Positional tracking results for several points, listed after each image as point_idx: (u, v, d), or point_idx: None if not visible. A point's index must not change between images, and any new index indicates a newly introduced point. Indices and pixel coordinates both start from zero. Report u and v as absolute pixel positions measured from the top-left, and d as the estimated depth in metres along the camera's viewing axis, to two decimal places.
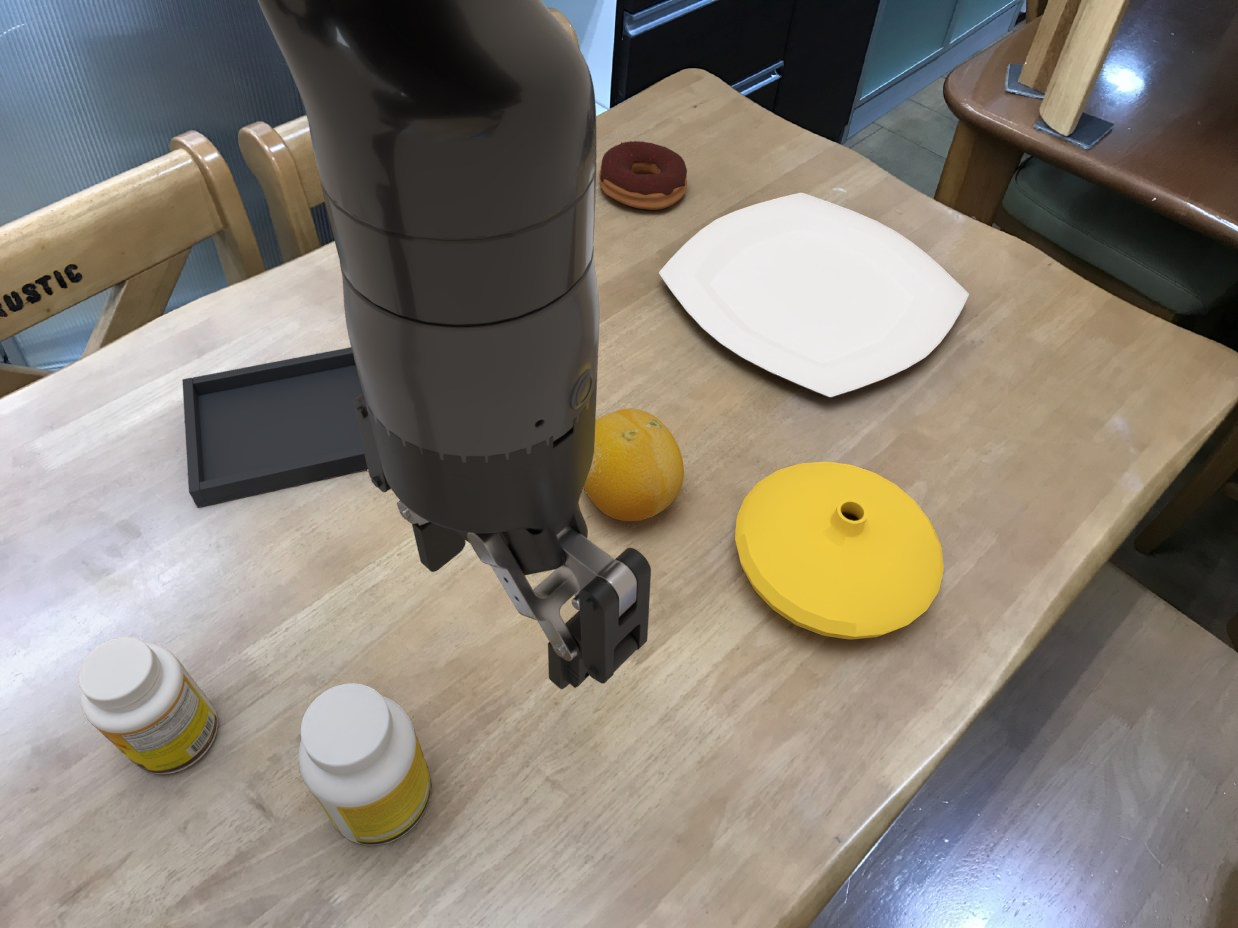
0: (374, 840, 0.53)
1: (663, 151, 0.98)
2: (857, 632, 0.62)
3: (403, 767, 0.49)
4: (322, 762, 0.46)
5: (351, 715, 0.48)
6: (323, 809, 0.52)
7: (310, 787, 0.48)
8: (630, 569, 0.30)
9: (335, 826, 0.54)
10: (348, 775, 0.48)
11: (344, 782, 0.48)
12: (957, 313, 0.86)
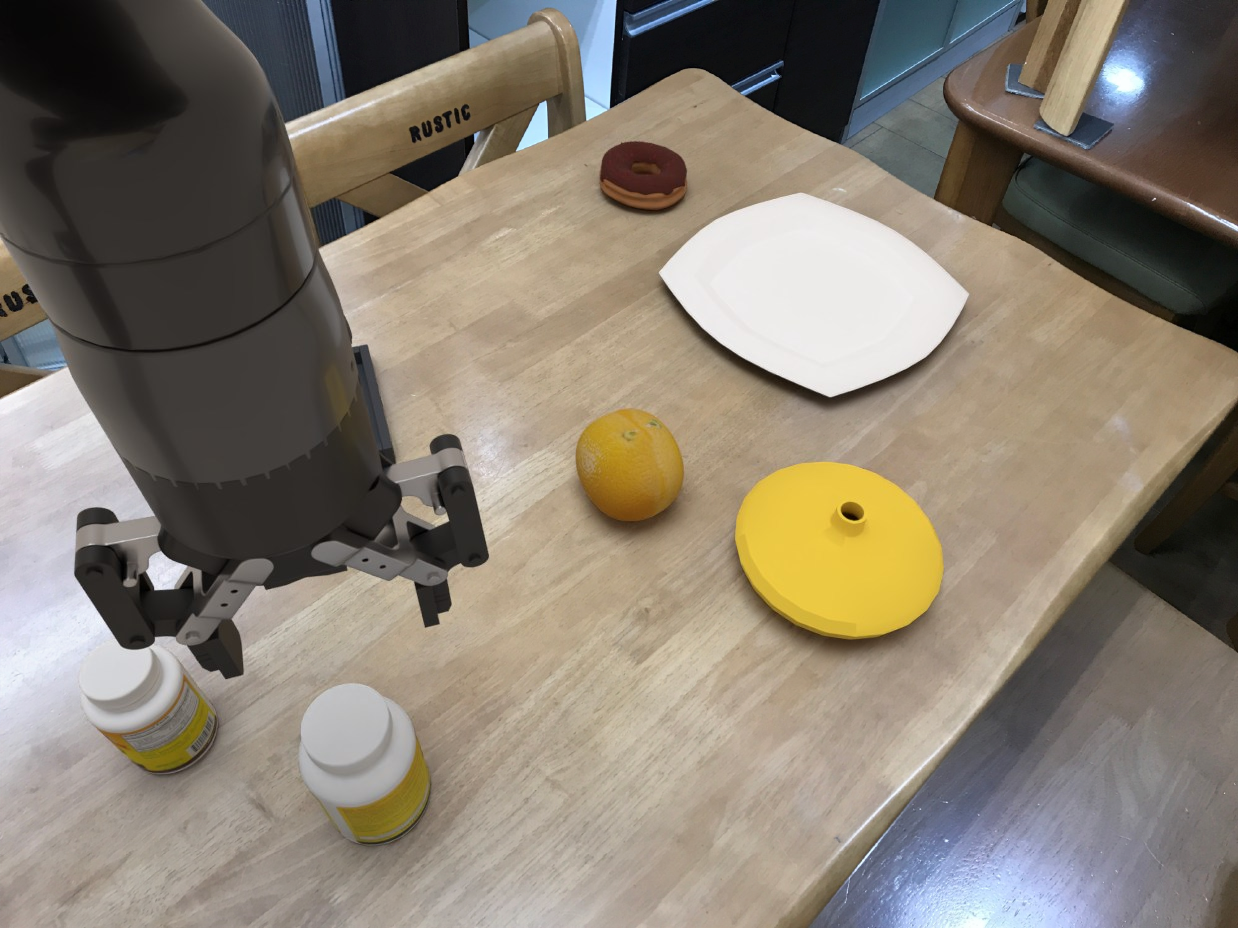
0: (374, 840, 0.53)
1: (663, 151, 0.98)
2: (857, 632, 0.62)
3: (403, 767, 0.49)
4: (322, 762, 0.46)
5: (351, 715, 0.48)
6: (323, 809, 0.52)
7: (310, 787, 0.48)
8: (453, 448, 0.34)
9: (335, 826, 0.54)
10: (348, 775, 0.48)
11: (344, 782, 0.48)
12: (957, 313, 0.86)
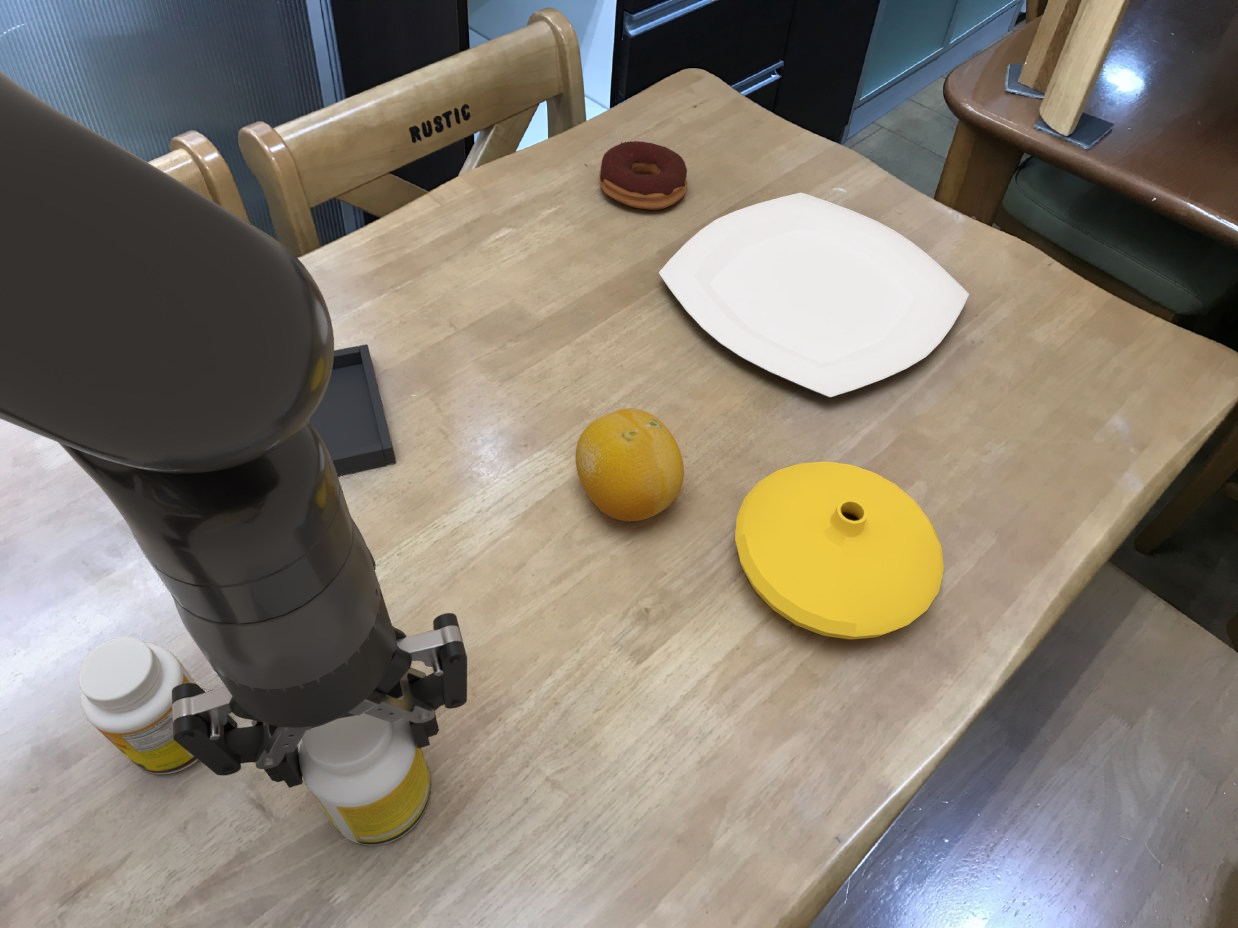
0: (375, 840, 0.53)
1: (663, 151, 0.98)
2: (857, 632, 0.62)
3: (404, 767, 0.49)
4: (323, 762, 0.46)
5: None
6: (323, 809, 0.52)
7: (310, 787, 0.48)
8: (453, 625, 0.44)
9: (335, 826, 0.54)
10: (348, 775, 0.48)
11: (345, 782, 0.48)
12: (957, 313, 0.86)
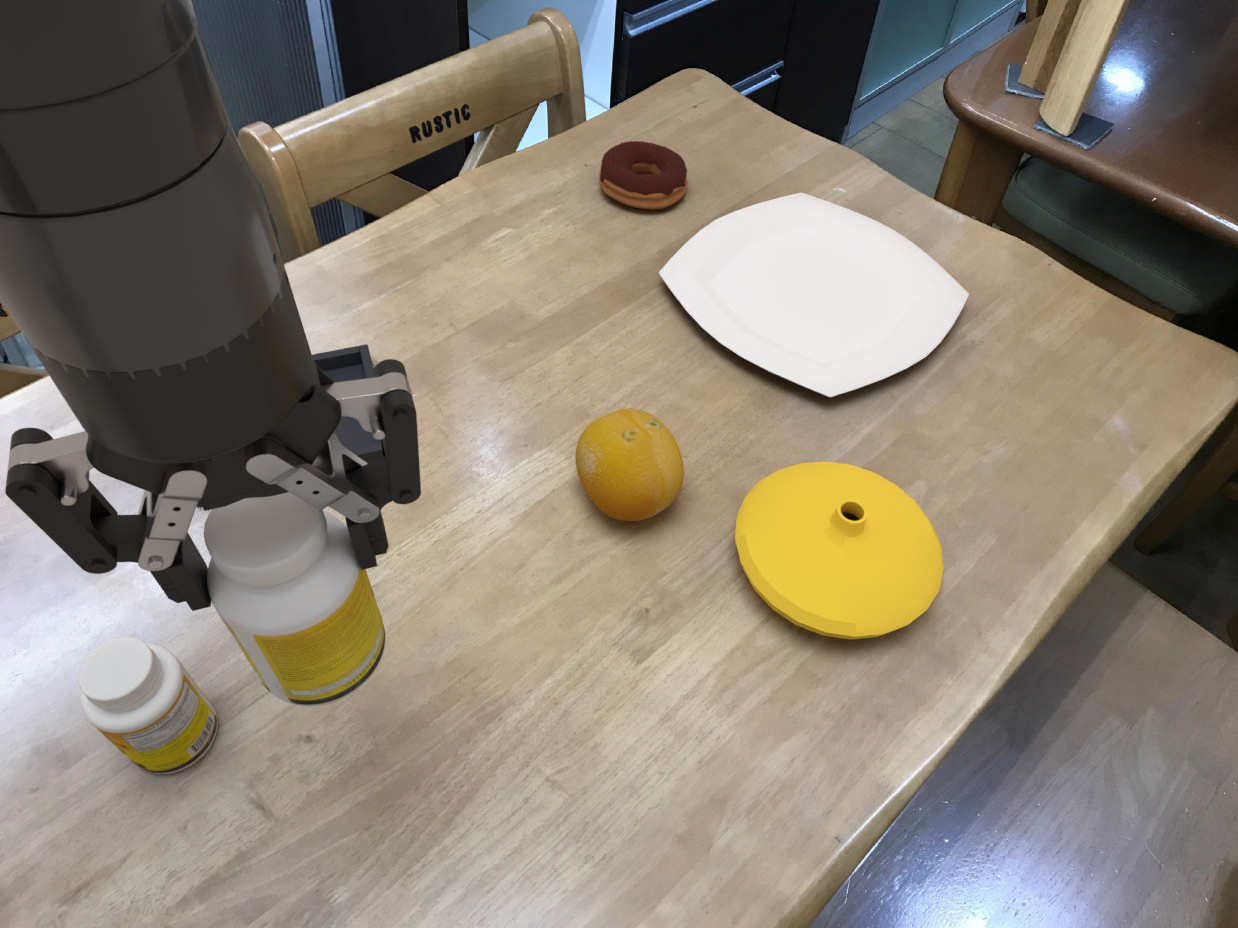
0: (310, 698, 0.42)
1: (663, 151, 0.98)
2: (857, 632, 0.62)
3: (341, 588, 0.38)
4: (230, 565, 0.35)
5: (272, 513, 0.37)
6: (242, 651, 0.40)
7: (219, 609, 0.37)
8: (398, 373, 0.33)
9: (261, 680, 0.42)
10: (267, 591, 0.37)
11: (262, 601, 0.37)
12: (957, 313, 0.86)
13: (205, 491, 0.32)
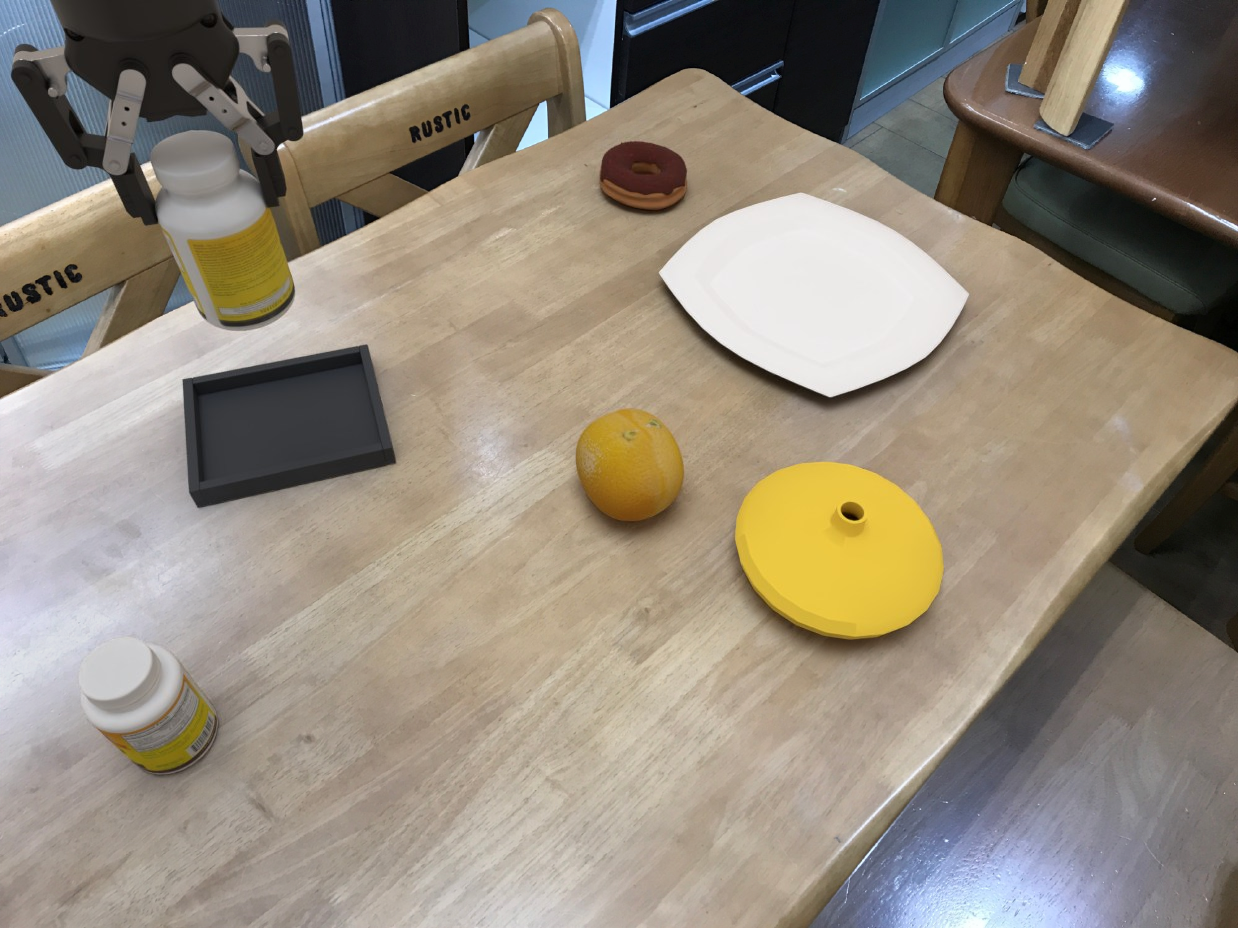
0: (235, 318, 0.57)
1: (663, 151, 0.98)
2: (857, 632, 0.62)
3: (250, 211, 0.53)
4: (167, 173, 0.50)
5: (199, 148, 0.52)
6: (183, 272, 0.56)
7: (163, 221, 0.53)
8: (280, 26, 0.48)
9: (199, 307, 0.58)
10: (195, 203, 0.52)
11: (192, 211, 0.52)
12: (957, 313, 0.86)
13: (147, 102, 0.48)
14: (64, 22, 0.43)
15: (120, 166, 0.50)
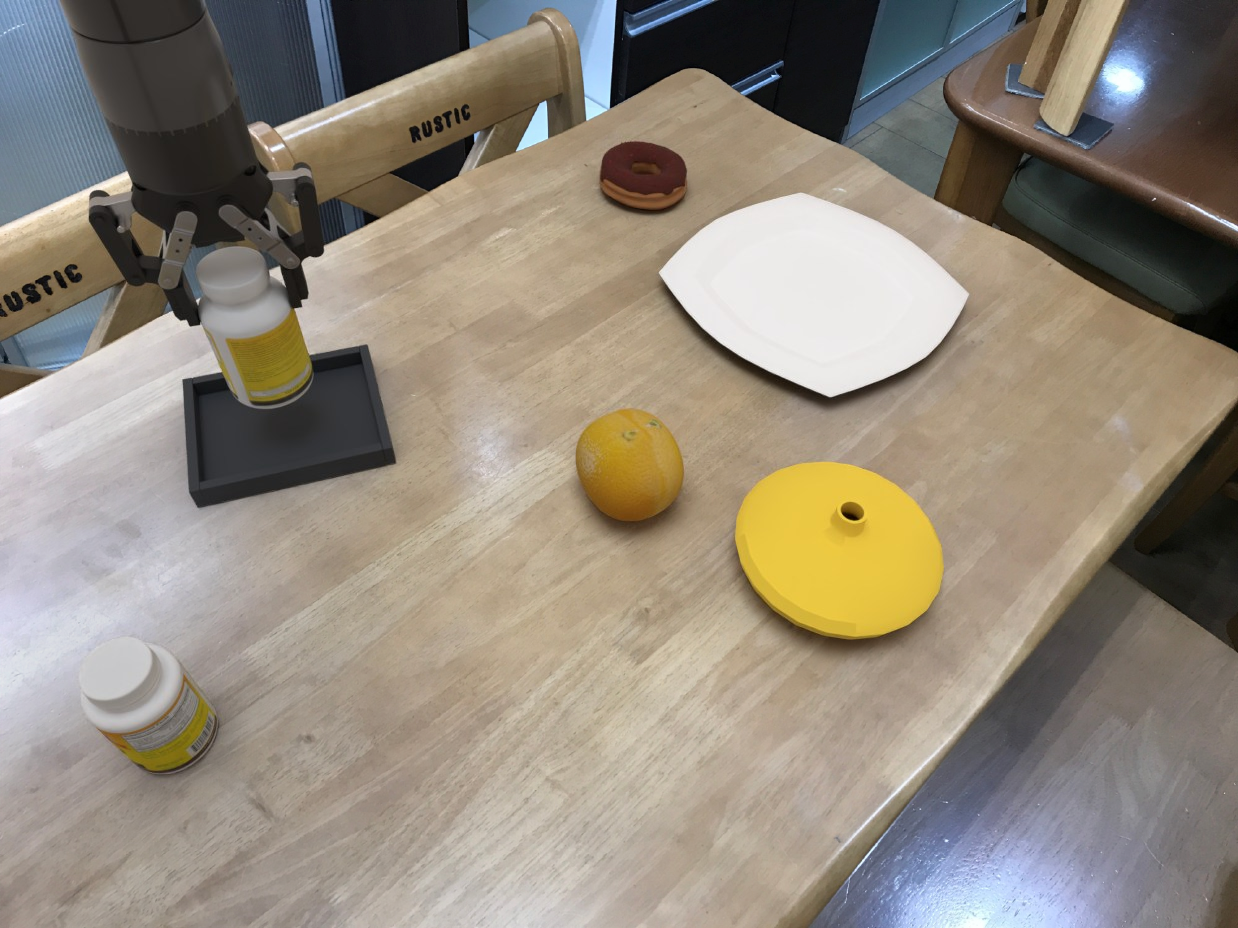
0: (263, 399, 0.67)
1: (663, 151, 0.98)
2: (857, 632, 0.62)
3: (279, 313, 0.63)
4: (211, 287, 0.60)
5: (236, 263, 0.62)
6: (220, 362, 0.66)
7: (205, 323, 0.63)
8: (306, 169, 0.59)
9: (232, 389, 0.68)
10: (233, 309, 0.62)
11: (230, 315, 0.62)
12: (957, 313, 0.86)
13: (196, 233, 0.58)
14: (134, 179, 0.53)
15: (172, 282, 0.60)
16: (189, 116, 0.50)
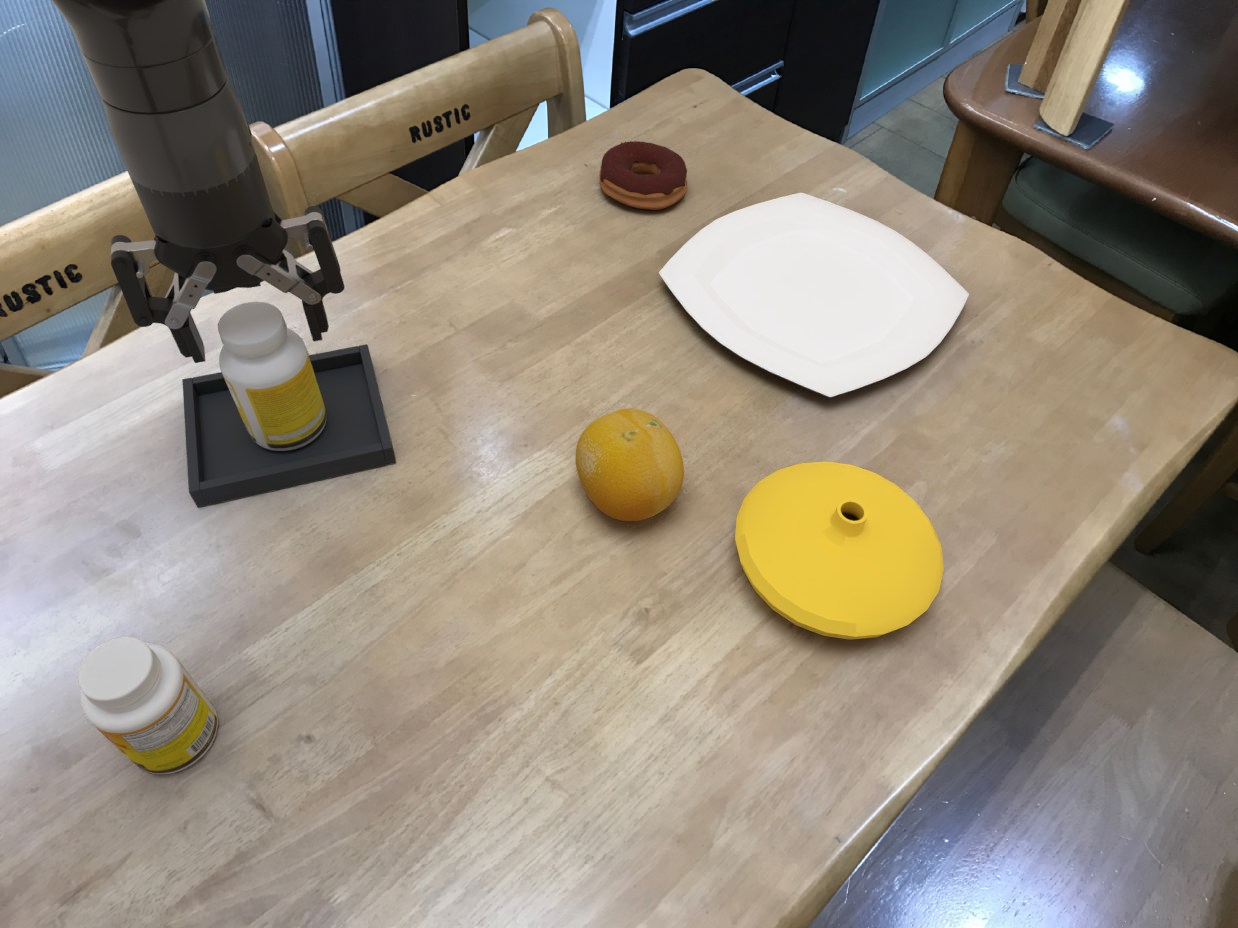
0: (280, 442, 0.71)
1: (663, 151, 0.98)
2: (857, 632, 0.62)
3: (295, 364, 0.67)
4: (232, 342, 0.64)
5: (255, 318, 0.66)
6: (239, 409, 0.70)
7: (226, 374, 0.67)
8: (316, 212, 0.61)
9: (251, 433, 0.72)
10: (253, 362, 0.66)
11: (250, 367, 0.66)
12: (957, 313, 0.86)
13: (215, 280, 0.61)
14: (158, 233, 0.56)
15: (178, 322, 0.62)
16: (211, 178, 0.53)
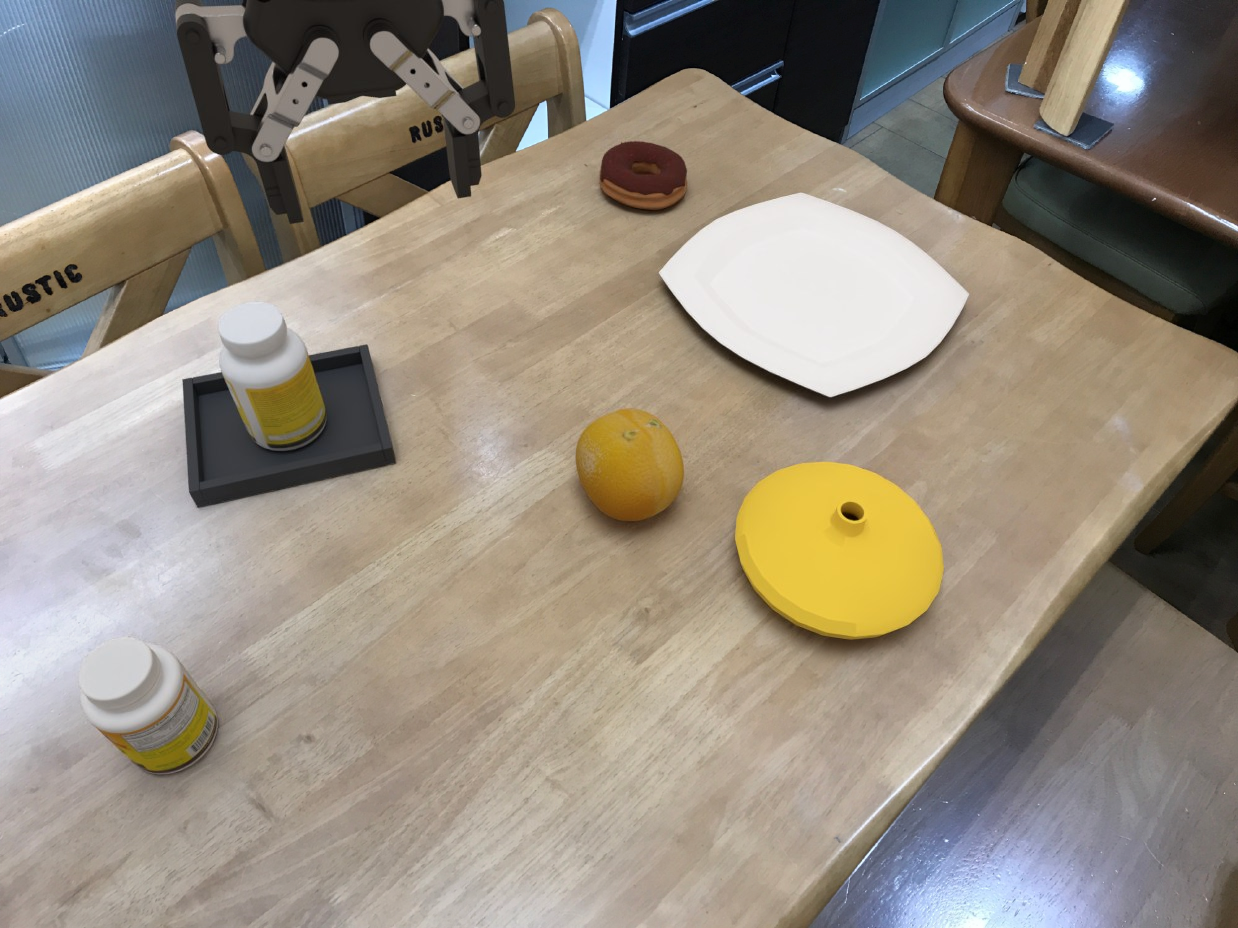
0: (280, 442, 0.71)
1: (663, 151, 0.98)
2: (857, 632, 0.62)
3: (295, 364, 0.67)
4: (232, 342, 0.64)
5: (255, 318, 0.66)
6: (239, 409, 0.70)
7: (226, 374, 0.67)
8: None
9: (251, 433, 0.72)
10: (253, 361, 0.66)
11: (250, 367, 0.66)
12: (957, 313, 0.86)
13: (331, 79, 0.39)
14: None
15: (272, 151, 0.41)
16: None
